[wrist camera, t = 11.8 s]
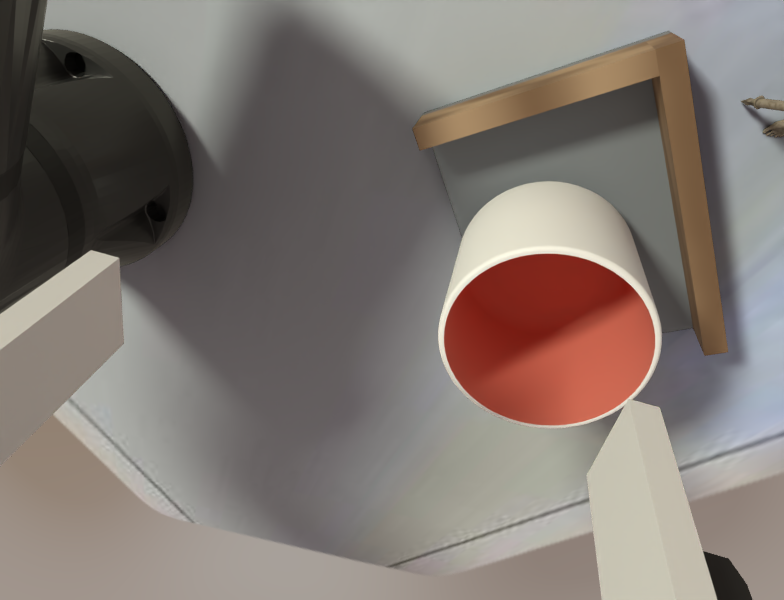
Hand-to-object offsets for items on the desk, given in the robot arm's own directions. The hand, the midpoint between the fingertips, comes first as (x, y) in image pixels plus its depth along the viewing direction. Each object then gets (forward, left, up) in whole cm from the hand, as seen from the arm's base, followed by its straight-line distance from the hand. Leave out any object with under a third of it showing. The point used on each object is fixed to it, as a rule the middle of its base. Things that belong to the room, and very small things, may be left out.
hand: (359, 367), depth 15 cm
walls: (+5, -6, -23) cm, 24 cm away
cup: (+3, -8, -22) cm, 24 cm away
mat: (+5, -6, -23) cm, 24 cm away
